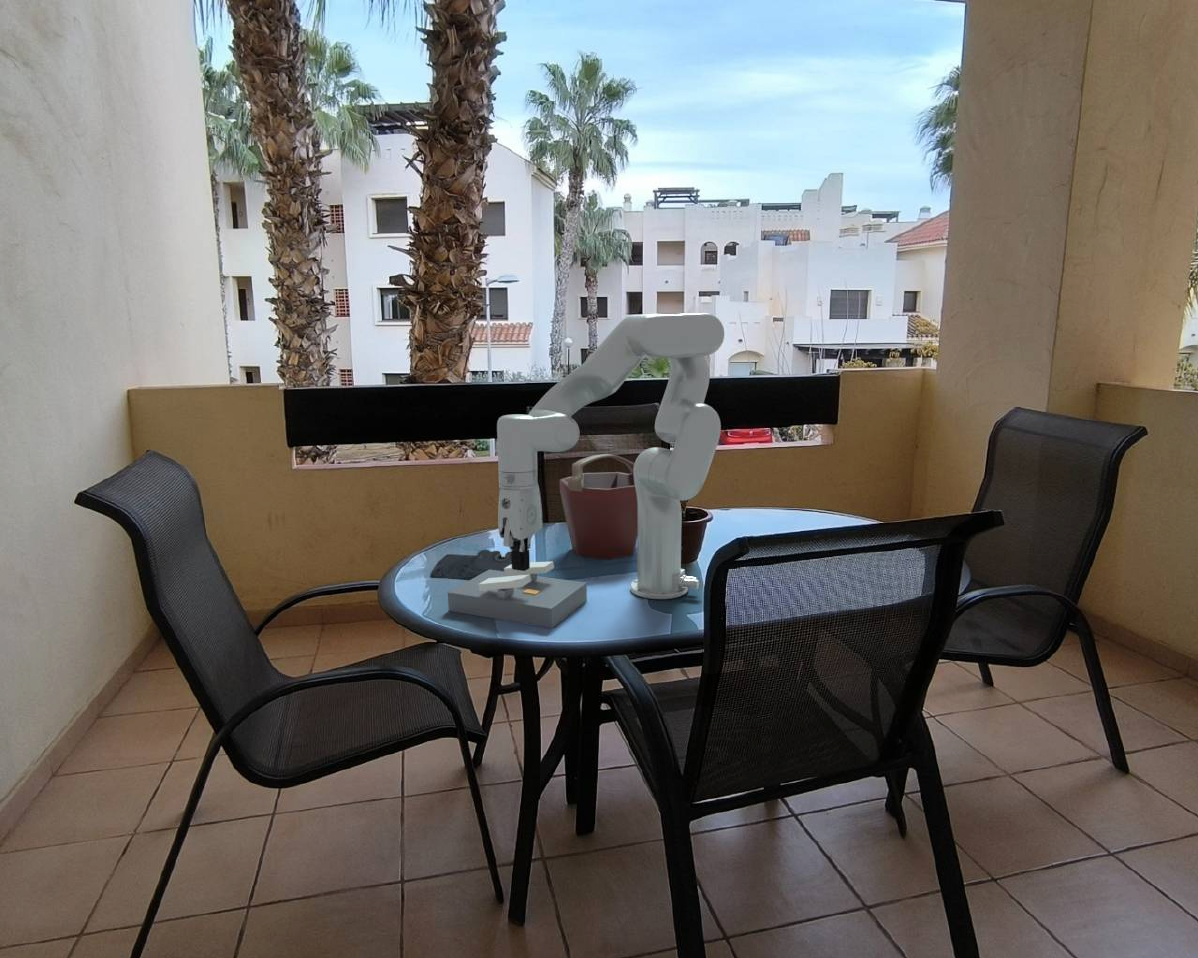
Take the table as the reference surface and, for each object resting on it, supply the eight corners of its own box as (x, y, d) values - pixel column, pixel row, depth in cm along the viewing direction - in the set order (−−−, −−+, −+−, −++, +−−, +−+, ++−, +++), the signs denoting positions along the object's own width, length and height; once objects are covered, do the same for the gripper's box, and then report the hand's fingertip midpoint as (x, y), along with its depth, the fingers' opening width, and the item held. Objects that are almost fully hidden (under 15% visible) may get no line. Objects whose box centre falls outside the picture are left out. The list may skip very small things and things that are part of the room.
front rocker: (531, 580, 151) (529, 574, 151) (521, 587, 147) (520, 580, 147) (490, 584, 155) (488, 578, 155) (479, 590, 152) (478, 584, 151)
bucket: (582, 568, 181) (580, 466, 176) (542, 546, 200) (539, 453, 195) (665, 552, 193) (666, 456, 188) (619, 533, 212) (619, 445, 207)
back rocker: (554, 567, 160) (553, 561, 160) (545, 573, 156) (544, 566, 156) (514, 569, 164) (513, 563, 164) (504, 574, 160) (503, 568, 160)
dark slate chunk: (448, 560, 190) (447, 542, 189) (533, 564, 186) (532, 545, 185) (425, 580, 175) (423, 560, 174) (515, 584, 171) (515, 564, 170)
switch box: (586, 600, 159) (586, 575, 158) (552, 628, 145) (551, 600, 144) (490, 586, 169) (489, 562, 168) (448, 610, 154) (447, 584, 153)
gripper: (515, 487, 137) (518, 583, 141) (553, 473, 150) (554, 560, 154) (480, 484, 140) (484, 578, 144) (520, 470, 153) (522, 556, 157)
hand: (520, 568), depth 149 cm, fingers closed
